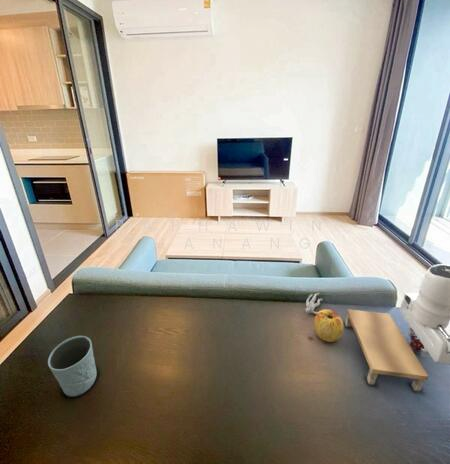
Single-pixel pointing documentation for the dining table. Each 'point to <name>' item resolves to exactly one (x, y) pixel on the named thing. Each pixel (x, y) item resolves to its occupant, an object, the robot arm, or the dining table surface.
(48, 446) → the dining table surface
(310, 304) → the soldier figure
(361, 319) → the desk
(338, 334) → the apple
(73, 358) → the grey cup
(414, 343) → the dice
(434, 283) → the robot arm
